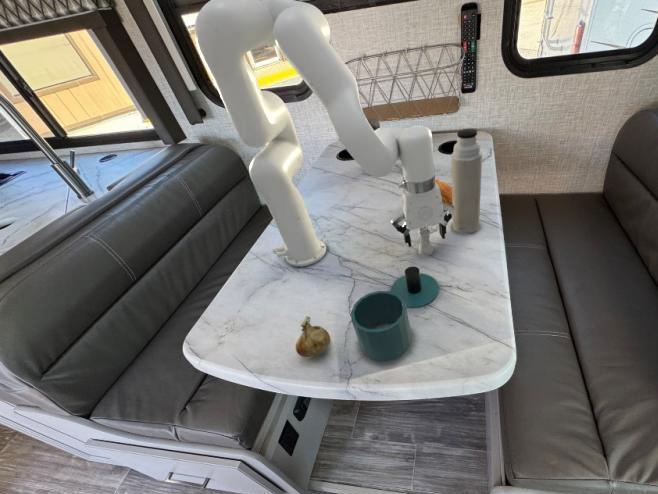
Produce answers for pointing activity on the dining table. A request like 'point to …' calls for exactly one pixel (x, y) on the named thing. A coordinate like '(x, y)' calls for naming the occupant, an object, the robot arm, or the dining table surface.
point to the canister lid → (416, 288)
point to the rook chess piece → (425, 242)
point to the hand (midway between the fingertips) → (425, 240)
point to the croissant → (445, 192)
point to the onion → (312, 340)
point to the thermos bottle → (466, 181)
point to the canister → (381, 311)
